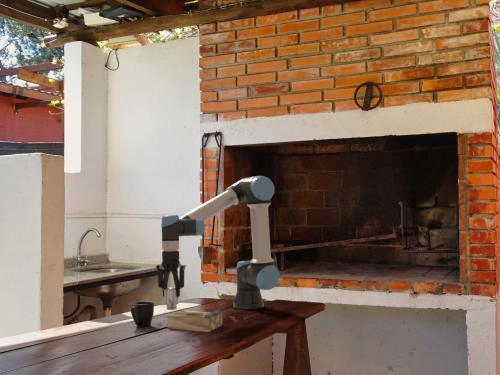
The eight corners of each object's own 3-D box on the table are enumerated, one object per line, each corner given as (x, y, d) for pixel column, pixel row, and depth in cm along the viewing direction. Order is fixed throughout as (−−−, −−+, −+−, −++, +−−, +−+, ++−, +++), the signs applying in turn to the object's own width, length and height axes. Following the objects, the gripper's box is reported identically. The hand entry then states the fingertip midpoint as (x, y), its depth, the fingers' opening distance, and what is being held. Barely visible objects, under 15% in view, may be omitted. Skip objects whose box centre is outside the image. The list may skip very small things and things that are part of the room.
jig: (183, 322, 239) (183, 307, 239) (222, 325, 233) (222, 310, 233) (167, 328, 226) (167, 313, 226) (208, 331, 219) (208, 315, 220)
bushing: (169, 307, 245) (169, 287, 246) (178, 308, 244) (178, 287, 244) (164, 309, 241) (164, 288, 242) (173, 310, 240) (173, 289, 240)
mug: (123, 328, 225) (123, 304, 226) (142, 323, 236) (142, 300, 236) (139, 330, 221) (139, 306, 222) (157, 325, 232) (157, 302, 232)
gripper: (149, 251, 243) (149, 304, 242) (184, 251, 237) (185, 306, 236) (157, 249, 250) (158, 301, 249) (192, 249, 244) (192, 303, 243)
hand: (171, 304), depth 243 cm, fingers closed on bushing, 4 cm apart
